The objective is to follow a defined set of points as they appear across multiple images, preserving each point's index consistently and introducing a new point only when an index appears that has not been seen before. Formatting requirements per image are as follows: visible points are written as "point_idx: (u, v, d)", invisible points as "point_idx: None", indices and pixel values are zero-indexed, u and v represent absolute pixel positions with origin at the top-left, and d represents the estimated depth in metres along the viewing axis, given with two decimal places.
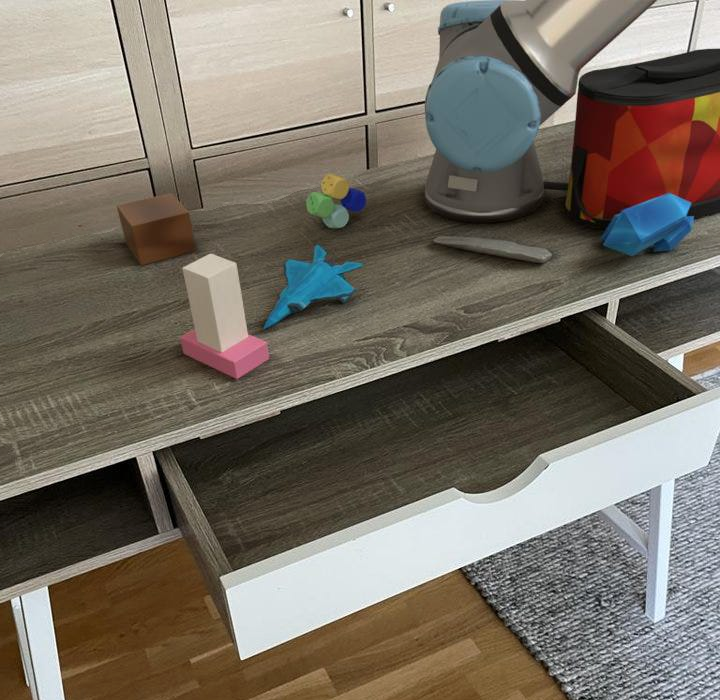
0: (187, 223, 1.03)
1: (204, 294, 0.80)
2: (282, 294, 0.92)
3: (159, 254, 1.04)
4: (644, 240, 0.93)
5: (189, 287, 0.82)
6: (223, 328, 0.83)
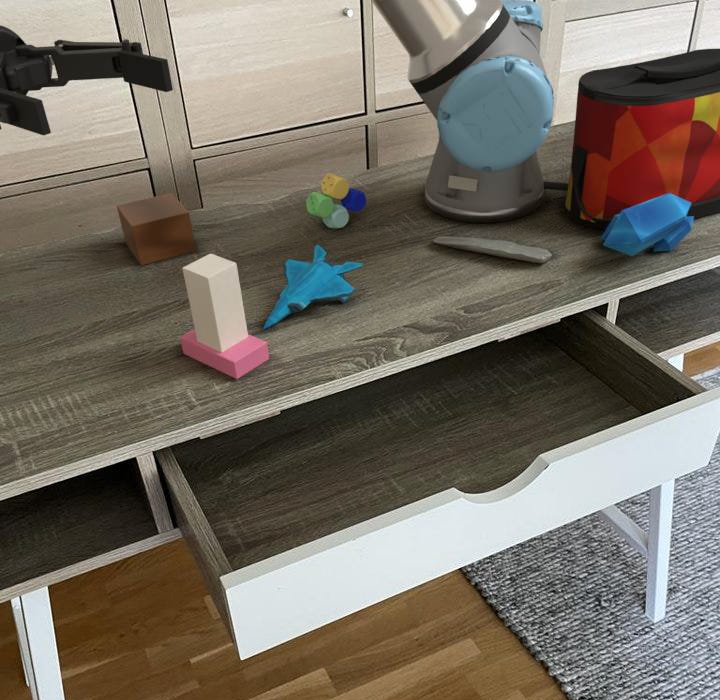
0: (187, 223, 1.03)
1: (204, 294, 0.80)
2: (282, 294, 0.92)
3: (159, 254, 1.04)
4: (644, 240, 0.93)
5: (189, 287, 0.82)
6: (223, 328, 0.83)
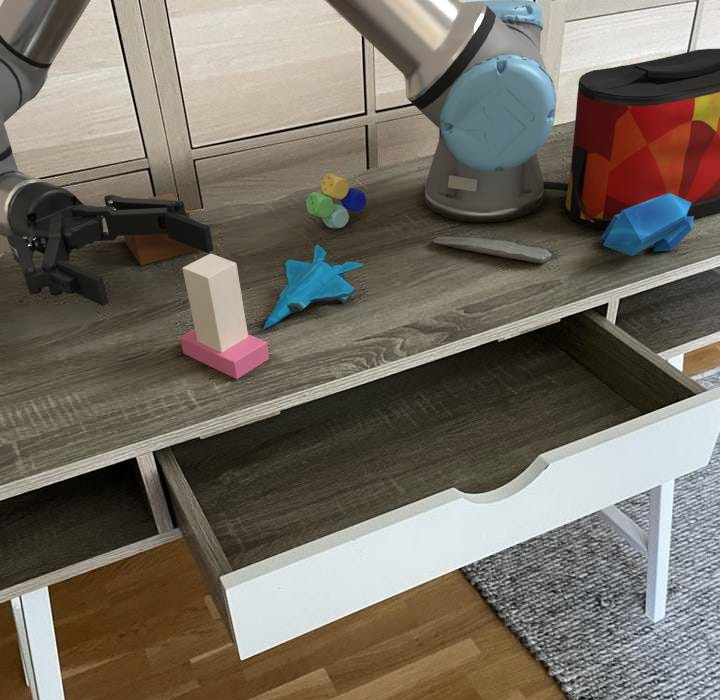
0: None
1: (204, 294, 0.80)
2: (282, 294, 0.92)
3: (159, 254, 1.04)
4: (644, 240, 0.93)
5: (189, 287, 0.82)
6: (223, 328, 0.83)
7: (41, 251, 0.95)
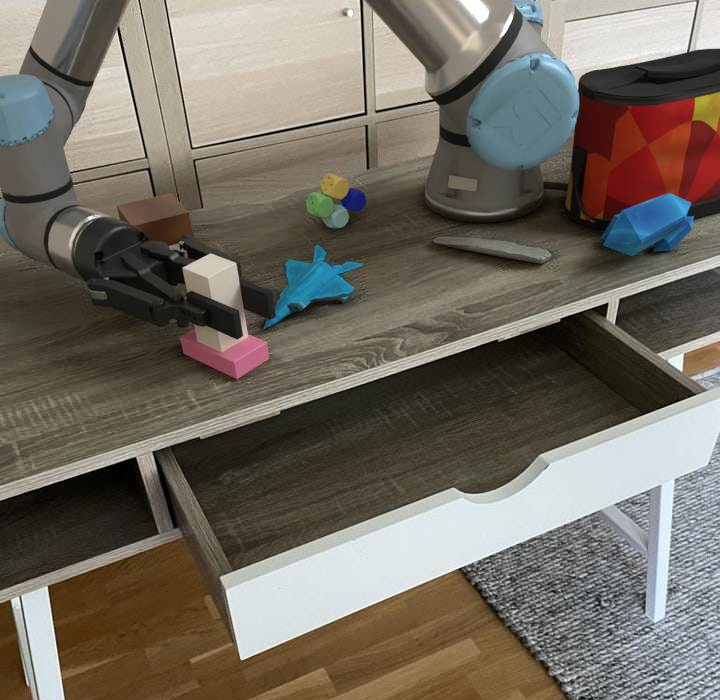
0: (187, 223, 1.03)
1: (204, 294, 0.80)
2: (282, 294, 0.92)
3: None
4: (644, 240, 0.93)
5: (188, 287, 0.82)
6: None
7: None
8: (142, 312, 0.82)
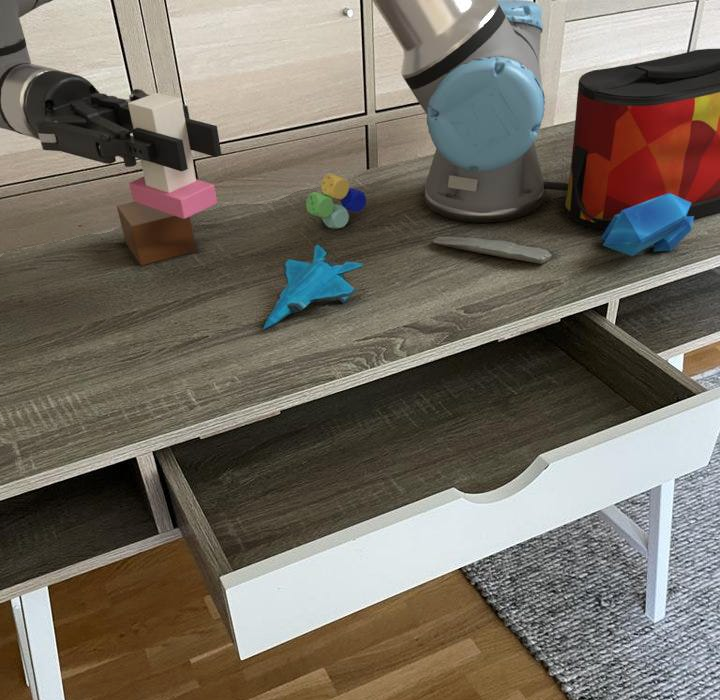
0: (187, 223, 1.03)
1: (150, 129, 0.82)
2: (282, 294, 0.92)
3: (159, 254, 1.04)
4: (644, 240, 0.93)
5: (135, 124, 0.83)
6: None
7: None
8: (89, 150, 0.83)
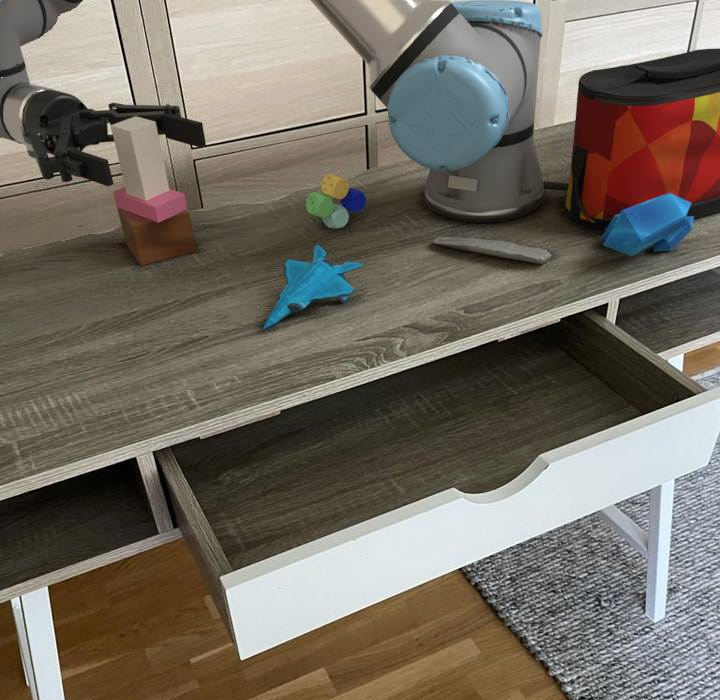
0: (187, 223, 1.03)
1: (129, 147, 0.97)
2: (282, 294, 0.92)
3: (159, 254, 1.04)
4: (644, 240, 0.93)
5: (116, 143, 0.98)
6: (146, 178, 0.99)
7: (52, 152, 1.07)
8: (38, 164, 0.98)
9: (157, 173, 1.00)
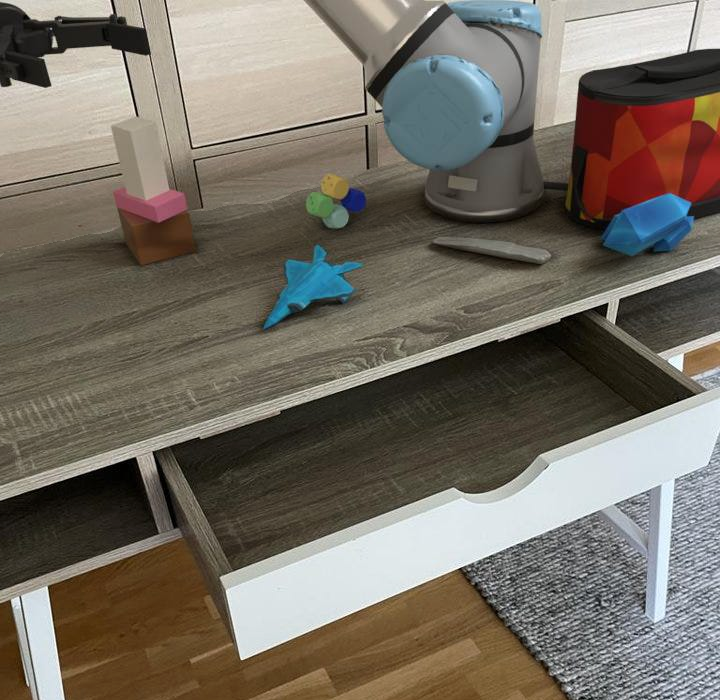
0: (187, 223, 1.03)
1: (129, 147, 0.97)
2: (282, 294, 0.92)
3: (159, 254, 1.04)
4: (644, 240, 0.93)
5: (116, 143, 0.98)
6: (146, 178, 0.99)
7: None
8: None
9: (157, 173, 1.00)
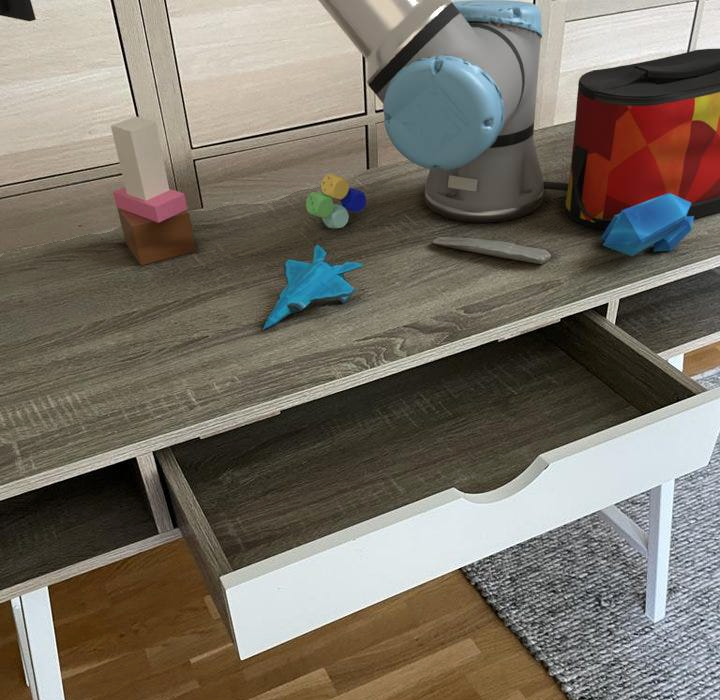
0: (187, 223, 1.03)
1: (129, 147, 0.97)
2: (282, 294, 0.92)
3: (159, 254, 1.04)
4: (644, 240, 0.93)
5: (116, 143, 0.98)
6: (146, 178, 0.99)
7: None
8: None
9: (157, 173, 1.00)
